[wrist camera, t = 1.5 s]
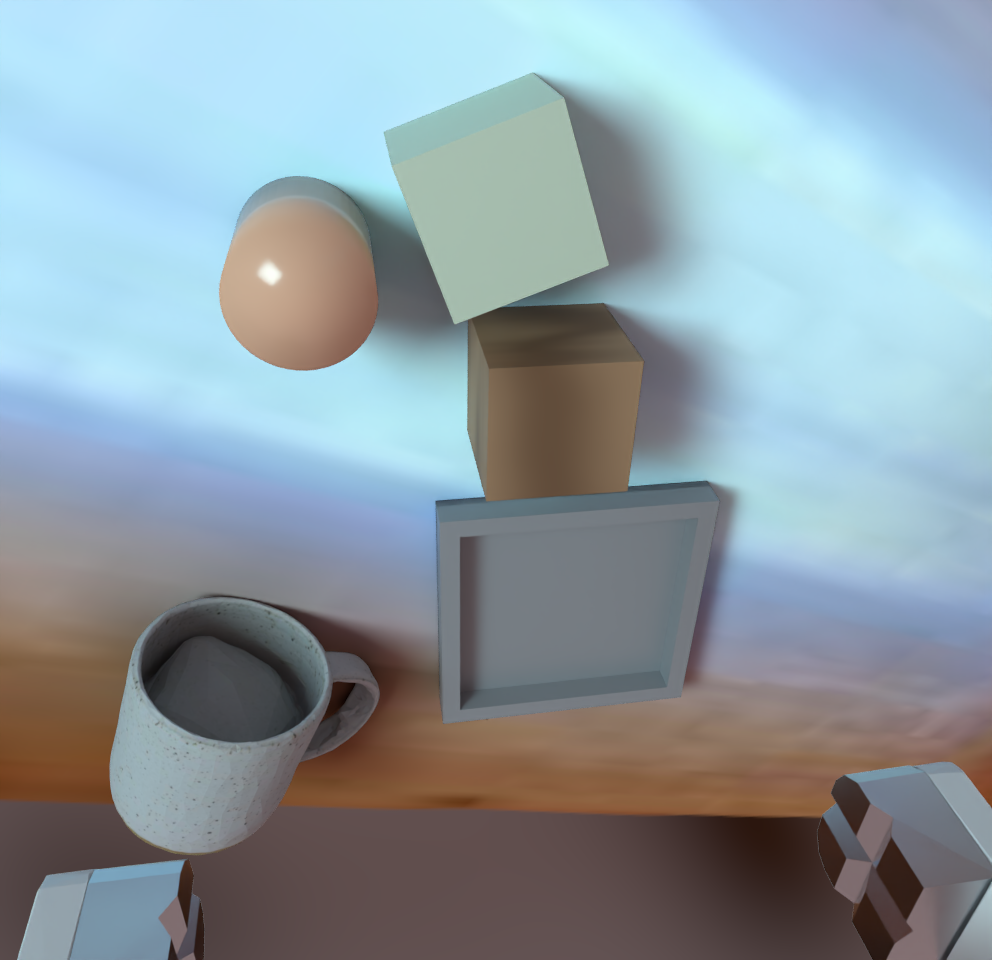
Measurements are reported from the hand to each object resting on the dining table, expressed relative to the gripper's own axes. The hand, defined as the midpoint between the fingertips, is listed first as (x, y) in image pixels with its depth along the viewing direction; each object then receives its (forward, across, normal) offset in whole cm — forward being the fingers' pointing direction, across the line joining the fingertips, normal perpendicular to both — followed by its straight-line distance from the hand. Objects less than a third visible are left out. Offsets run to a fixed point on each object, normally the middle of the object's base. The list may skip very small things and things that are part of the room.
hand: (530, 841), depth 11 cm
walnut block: (+22, -5, +4) cm, 23 cm away
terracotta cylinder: (+22, +3, 0) cm, 23 cm away
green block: (+22, -3, -3) cm, 23 cm away
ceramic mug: (+23, +7, +18) cm, 30 cm away
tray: (+22, -7, +16) cm, 28 cm away
